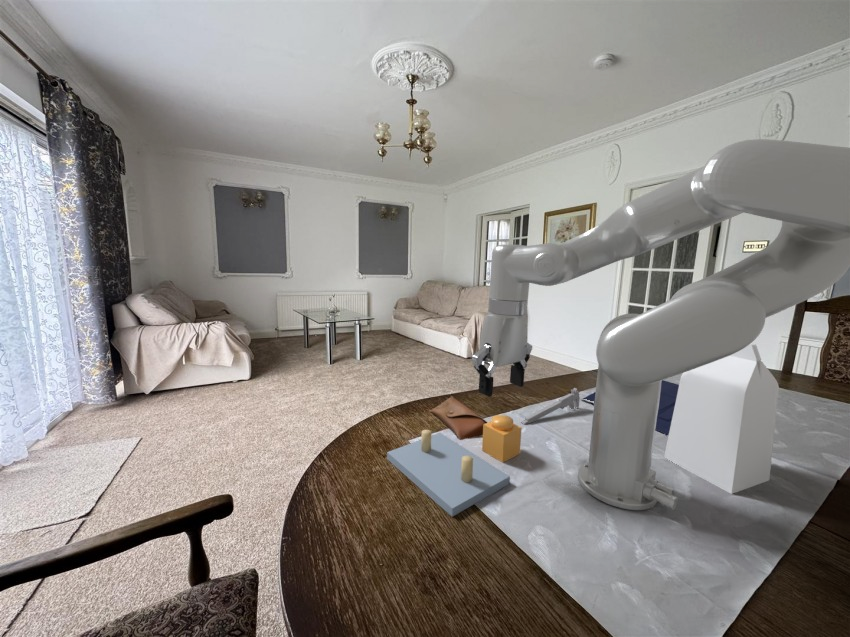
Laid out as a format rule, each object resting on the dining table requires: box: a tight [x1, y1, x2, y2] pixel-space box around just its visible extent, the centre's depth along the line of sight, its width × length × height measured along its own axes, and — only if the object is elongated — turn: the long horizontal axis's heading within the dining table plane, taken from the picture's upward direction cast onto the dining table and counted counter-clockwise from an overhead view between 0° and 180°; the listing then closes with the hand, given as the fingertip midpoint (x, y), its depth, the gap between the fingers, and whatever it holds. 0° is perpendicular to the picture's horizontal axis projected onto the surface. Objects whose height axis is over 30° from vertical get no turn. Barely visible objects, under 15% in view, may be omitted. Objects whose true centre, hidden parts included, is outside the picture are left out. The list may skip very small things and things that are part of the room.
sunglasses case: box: [429, 395, 488, 441], centre depth 87 cm, size 18×7×7 cm, turn 26°
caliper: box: [521, 387, 581, 425], centre depth 91 cm, size 21×1×6 cm, turn 119°
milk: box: [663, 343, 780, 495], centre depth 66 cm, size 12×12×26 cm
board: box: [386, 429, 511, 517], centre depth 66 cm, size 20×14×6 cm
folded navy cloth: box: [582, 380, 679, 436], centre depth 98 cm, size 24×30×4 cm
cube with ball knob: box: [481, 414, 522, 463], centre depth 72 cm, size 6×6×7 cm
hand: (501, 389), depth 71 cm, fingers open, 9 cm apart
